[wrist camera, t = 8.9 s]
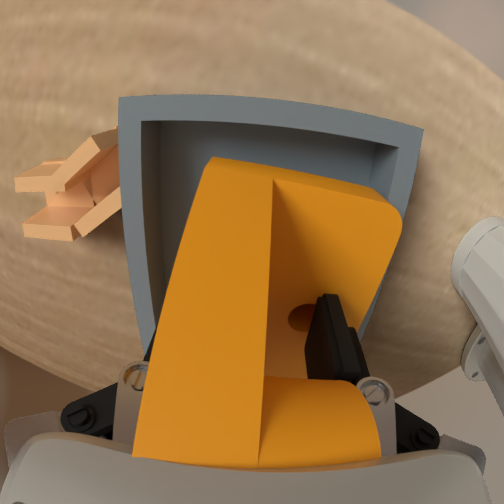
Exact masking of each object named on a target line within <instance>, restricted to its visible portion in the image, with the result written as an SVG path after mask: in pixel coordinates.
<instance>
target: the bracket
mask: <svg viewBox="0 0 504 504" xmlns="http://www.w3.org/2000/svg"><path fill="white" fill-rule="evenodd" d="M401 231H402V219H401V216H400V214H399V212H398V211H397V209H396V208H395V207H393V206H392V205H391V204H390V203H389V202H388V201H387V200H386V199H385V198H384V197H383V196H381V195H380V194H379V193H378V192H377V191H376V190H374V189H372V188H370V187H366V186H362V185H358V184H354V183H350V182H346V181H342V180H337V179H333V178H328V177H324V176H319V175H315V174H310V173H305V172H300V171H295V170H290V169H285V168H280V167H274V166H269V165H263V164H258V163H252V162H246V161H239V160H233V159H226V158H219V157H212V158H211V159H210V161H209V162H208V164H207V165H206V167H205V168H204V171H203V174H202V177H201V180H200V183H199V186H198V189H197V192H196V195H195V198H194V201H193V204H192V207H191V210H190V213H189V216H188V220H187V223H186V226H185V229H184V233H183V236H182V239H181V243H180V246H179V249H178V253H177V256H176V260H175V263H174V267H173V270H172V274H171V277H170V281H169V285H168V288H167V292H166V296H165V300H164V303H163V307H162V311H161V315H160V319H159V323H158V327H157V331H156V335H155V340H154V344H153V348H152V353H151V357H150V362H149V366H148V371H147V375H146V380H145V385H144V390H143V395H142V400H141V405H140V410H139V416H138V421H137V427H136V433H135V439H134V445H133V451H132V457H145V458H150V459H156V460H162V461H169V462H177V463H185V464H194V465H204V466H216V467H231V468H297V467H313V466H325V465H335V464H344V463H352V462H359V461H365V460H372V459H377V458H382V457H381V447H380V440H379V434H378V430H377V426H376V422H375V419H374V416H373V413H372V411H371V409H370V406H369V404H368V402H367V401H366V399H365V397H364V396H363V394H362V393H361V392H360V390H359V389H358V388H357V387H356V386H355V385H353V384H351V383H350V382H347V381H343V380H317V379H308V377H307V369H306V361H305V353H304V347H305V342H306V339H307V335H308V331H309V328H310V324H311V320H312V317H313V313H314V309H315V305H316V302H317V298H318V297H322V295H323V294H324V293H326V294H337V295H338V296H339V299H340V302H341V306H342V309H343V312H344V315H345V318H346V321H347V325H348V327H354V328H355V330H356V332H357V331H358V329H359V327H360V325H361V323H362V321H363V319H364V317H365V315H366V313H367V311H368V309H369V307H370V305H371V303H372V300H373V298H374V296H375V294H376V292H377V290H378V287H379V285H380V283H381V281H382V278H383V276H384V274H385V271H386V269H387V267H388V264H389V262H390V260H391V257H392V255H393V252H394V250H395V247H396V245H397V242H398V240H399V237H400V234H401Z"/></svg>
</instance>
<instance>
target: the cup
mask: <svg viewBox="0 0 504 504" xmlns="http://www.w3.org/2000/svg"><path fill="white" fill-rule="evenodd" d="M451 280H452V284H453V286H454V287H455V289H456V290H457V291H458V293H459V294H460V295H461V297H462V298H463V299H464V301H465V303H466V304H467V306H468V308H469V309H470V311H471V313H472V314H473V316H474V318H475V320H476V321H477V323H478V325H479V327H480V328H481V330H482V332H483V334H484V336H485V338H486V339H487V341H488V343H489V345H490V347H491V349H492V351H493V353H494V355H495V357H496V359H497V361H498V363H499V365H500V367H501V369H502V371H503V374H504V219H503V218H501V217H496V216H493V217H488V218H485V219H483V220H481V221H479V222H478V223H477V224H475V225H474V226H473V227H472V228H471V229H470V230H469V231H468V232H467V233H466V235H465V236H464V237H463V239H462V240H461V242H460V243H459V245H458V247H457V249H456V251H455V254H454V257H453V260H452V264H451Z"/></svg>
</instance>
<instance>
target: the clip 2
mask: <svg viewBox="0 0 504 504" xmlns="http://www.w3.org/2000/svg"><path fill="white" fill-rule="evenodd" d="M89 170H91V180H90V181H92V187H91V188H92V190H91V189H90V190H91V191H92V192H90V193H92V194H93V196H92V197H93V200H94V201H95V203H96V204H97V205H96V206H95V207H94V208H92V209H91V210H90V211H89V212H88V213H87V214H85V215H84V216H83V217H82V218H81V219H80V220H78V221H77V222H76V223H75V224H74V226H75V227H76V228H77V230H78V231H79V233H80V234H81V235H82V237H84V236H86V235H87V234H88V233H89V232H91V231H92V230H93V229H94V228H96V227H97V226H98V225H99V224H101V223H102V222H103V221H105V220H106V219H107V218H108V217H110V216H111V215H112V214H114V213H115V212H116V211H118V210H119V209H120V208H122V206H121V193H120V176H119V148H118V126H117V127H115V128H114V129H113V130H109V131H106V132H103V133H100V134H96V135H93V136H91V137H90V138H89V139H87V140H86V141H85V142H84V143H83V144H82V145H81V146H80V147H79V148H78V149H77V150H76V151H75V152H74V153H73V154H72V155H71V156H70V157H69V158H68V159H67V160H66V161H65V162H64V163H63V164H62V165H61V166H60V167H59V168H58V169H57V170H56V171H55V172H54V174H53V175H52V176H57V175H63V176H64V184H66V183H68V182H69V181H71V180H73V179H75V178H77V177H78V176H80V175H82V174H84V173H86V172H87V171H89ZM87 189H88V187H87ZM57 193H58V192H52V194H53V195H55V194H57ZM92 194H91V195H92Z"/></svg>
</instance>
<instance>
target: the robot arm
mask: <svg viewBox="0 0 504 504" xmlns="http://www.w3.org/2000/svg"><path fill="white" fill-rule="evenodd" d="M159 319H160V318H159ZM158 323H159V321H158ZM158 323H157V326H156V329H155V331H154V334H153V336H152V339H151V341H150V344H149V347H148V349H147V352H146V354H145V357H144V360H143V361H135V362H132V363H129V364H128V365H126V366H125V367H124V368H123V369H122V370H121V372H120V375H119V379H118V382H117V383H115V384H113V385H111V386H108V387H106V388H104V389H102V390H99V391H97V392H95V393H93V394H90V395H88V396H86V397H83V398H81V399H78V400H76V401H74V402H72V403H70V404H68V405H67V406H66V407H65V408H64V409H63V411H62V412H59V413H57V412H56V411H51V412H46V413H42V414H37V415H32V416H27V417H22V418H16V419H14V420H11V421H10V422H9V423H8V424H7V425H6V428H5V432H4V436H5V444H6V451H7V458H8V464H9V469H10V470H9V473H8V475H7V478H6V480H5V483H4V485H3V488H2V491H1V494H0V504H492V503H491V500H490V496H489V492H488V490H487V486H486V483H485V480H484V478H483V473H484V468H485V463H486V457H485V454H484V452H483V451H482V450H481V449H480V448H479V447H477V446H474V445H471V444H468V443H465V442H463V441H460V440H457V439H455V438H452V437H449V436H447V435H443V436H439V433H438V431H437V430H436V428H435V427H433V426H432V425H431V424H429V423H428V422H426V421H424V420H423V419H421V418H420V417H418V416H416V415H414V414H413V413H411V412H410V411H408V410H407V409H405V408H403V407H402V406H400V405H399V404H397V403H395V401H394V392H393V389H392V388H391V386H390V385H389V384H388V383H387V382H386V381H385V380H383V379H381V378H377V377H370V374H369V371H368V368H367V364H366V361H365V358H364V354H363V351H362V348H361V345H360V342H359V339H358V335H357V332H356V330H355V328H354V327H348V325H347V321H346V318H345V315H344V312H343V309H342V306H341V302H340V299H339V296H338V295H337V294H326V293H324V294H323V295H322V297H318V298H317V302H316V305H315V309H314V313H313V317H312V320H311V324H310V328H309V331H308V335H307V339H306V342H305V347H304V353H305V361H306V369H307V377H308V379H317V380H343V381H347V382H350V383H351V384H353V385H355V386H356V387H357V388H358V389H359V390H360V392H361V393H362V394H363V396H364V397H365V399H366V401H367V402H368V404H369V406H370V409H371V411H372V413H373V416H374V419H375V422H376V426H377V430H378V434H379V440H380V447H381V457H382V458H377V459H372V460H365V461H359V462H352V463H344V464H335V465H325V466H313V467H297V468H231V467H216V466H204V465H194V464H185V463H177V462H169V461H162V460H156V459H150V458H145V457H132V451H133V445H134V439H135V433H136V427H137V421H138V416H139V410H140V405H141V400H142V395H143V390H144V385H145V380H146V375H147V371H148V366H149V362H150V357H151V353H152V348H153V344H154V340H155V335H156V331H157V327H158ZM461 365H462V369H463V371H464V373H465V375H466V377H467V378H468V379H470V380H473V381H484V380H486V381H487V383H488V385H489V387H490V389H491V391H492V393H493V395H494V397H495V399H496V401H497V403H498V405H499V407H500V409H501V411H502V413H503V415H504V374H503V371H502V369H501V367H500V365H499V363H498V361H497V359H496V357H495V355H494V353H493V351H492V349H491V347H490V345H489V343H488V341H487V339H486V338H485V336H484V334H483V332H482V330H481V328H480V327H479V325H478V324H477V326H476V327H475V329H474V331H473V332H472V334H471V335H470V337H469V339H468V341H467V343H466V345H465V348H464V351H463V354H462V359H461Z"/></svg>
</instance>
